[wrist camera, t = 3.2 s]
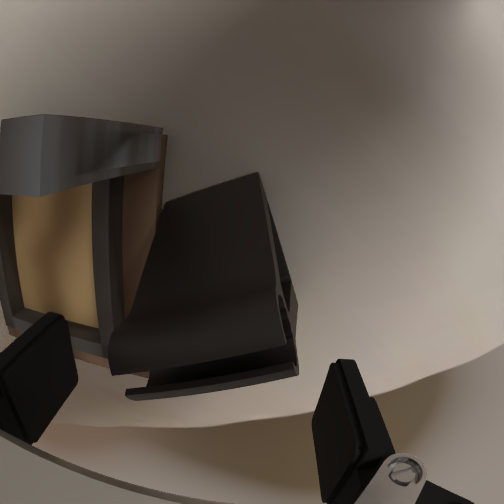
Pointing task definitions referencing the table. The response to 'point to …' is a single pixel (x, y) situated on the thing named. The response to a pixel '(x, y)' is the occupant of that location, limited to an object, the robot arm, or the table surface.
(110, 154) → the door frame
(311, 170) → the table surface
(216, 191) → the phone stand
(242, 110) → the table surface
